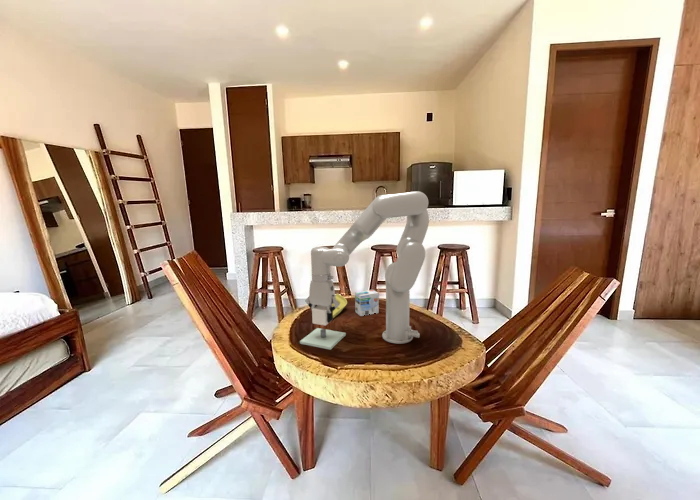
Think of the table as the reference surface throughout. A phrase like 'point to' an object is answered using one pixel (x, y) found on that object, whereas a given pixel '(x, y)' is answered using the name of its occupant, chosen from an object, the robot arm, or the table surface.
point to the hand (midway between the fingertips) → (322, 319)
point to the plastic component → (342, 302)
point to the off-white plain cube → (319, 315)
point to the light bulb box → (366, 302)
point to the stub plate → (323, 338)
